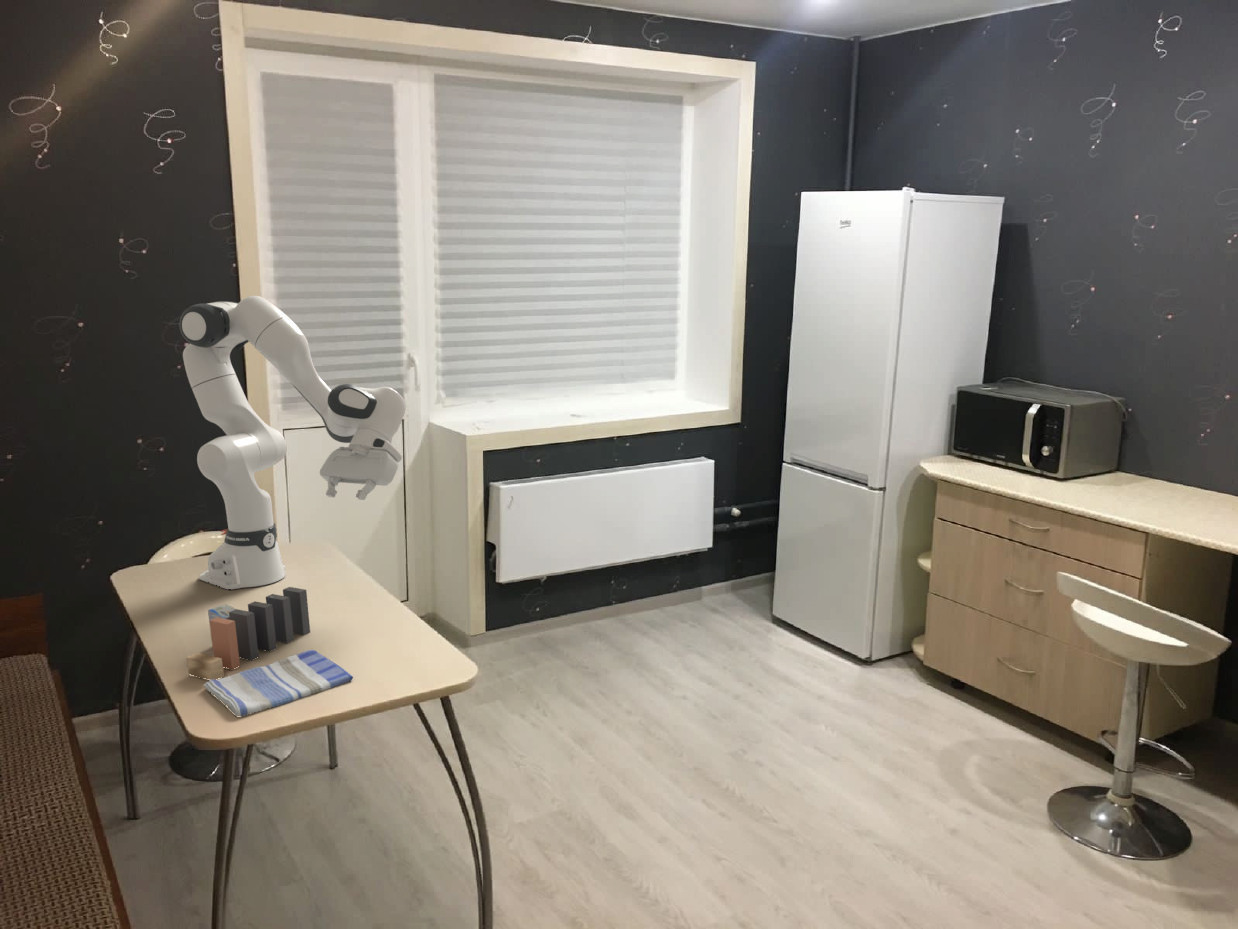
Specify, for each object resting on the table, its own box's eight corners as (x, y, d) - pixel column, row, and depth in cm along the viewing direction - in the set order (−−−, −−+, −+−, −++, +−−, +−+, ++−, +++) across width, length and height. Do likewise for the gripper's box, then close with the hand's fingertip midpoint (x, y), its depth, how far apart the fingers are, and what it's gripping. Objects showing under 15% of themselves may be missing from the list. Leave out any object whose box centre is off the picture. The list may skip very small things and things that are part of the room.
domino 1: (214, 666, 199) (209, 620, 196) (222, 662, 200) (217, 617, 198) (232, 670, 196) (227, 624, 194) (240, 666, 198) (234, 621, 196)
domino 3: (252, 648, 207) (247, 604, 205) (259, 644, 209) (255, 601, 207) (269, 652, 205) (265, 607, 203) (276, 648, 207) (272, 604, 205)
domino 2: (234, 657, 203) (229, 612, 201) (241, 653, 205) (236, 609, 203) (251, 661, 201) (246, 615, 199) (258, 657, 203) (253, 612, 200)
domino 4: (270, 639, 212) (265, 596, 210) (276, 636, 213) (272, 593, 211) (287, 643, 210) (282, 600, 207) (293, 640, 211) (289, 597, 209)
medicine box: (248, 650, 206) (244, 612, 205) (228, 656, 203) (223, 618, 201) (231, 640, 212) (227, 603, 210) (211, 646, 209) (207, 609, 207)
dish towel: (202, 692, 188) (200, 679, 187) (317, 657, 203) (316, 645, 202) (234, 723, 175) (233, 709, 175) (354, 684, 190) (353, 670, 190)
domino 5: (286, 631, 216) (282, 589, 214) (293, 628, 218) (289, 586, 216) (303, 635, 214) (299, 592, 212) (310, 632, 216) (306, 589, 213)
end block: (189, 675, 194) (186, 657, 193) (199, 671, 196) (197, 652, 195) (213, 682, 191) (211, 663, 190) (223, 677, 193) (221, 658, 192)
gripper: (328, 439, 235) (303, 487, 228) (393, 442, 225) (369, 492, 219) (343, 453, 240) (320, 501, 233) (408, 457, 230) (385, 506, 224)
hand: (344, 497), depth 226 cm, fingers open, 8 cm apart
